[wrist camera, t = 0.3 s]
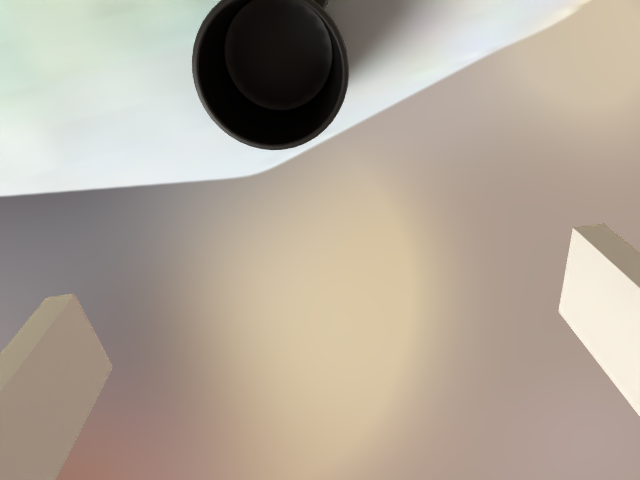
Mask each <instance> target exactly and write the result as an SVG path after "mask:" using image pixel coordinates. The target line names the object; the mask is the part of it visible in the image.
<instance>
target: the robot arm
mask: <svg viewBox="0 0 640 480" xmlns="http://www.w3.org/2000/svg"><path fill="white" fill-rule="evenodd" d="M559 313H560V314H561V315H562V317H563V318H564V319H565V320H566V322H567V323H568V324H569V326H570V327H571V328H572V330H573V331H574V332H575V334H576V335H577V336H578V337H579V339H580V340H581V341H582V342H583V344H584V345H585V346H586V348H587V349H588V350H589V352H590V353H591V354H592V355H593V356H594V358H595V359H596V361H597V362H598V363H599V364H600V366H601V367H602V368H603V370H604V371H605V372H606V373H607V375H608V376H609V377H610V379H611V380H612V381H613V383H614V384H615V385H616V386H617V388H618V389H619V390H620V392H621V393H622V394H623V396H624V397H625V398H626V399H627V401H628V402H629V403H630V405H631V406H632V407H633V408H634V410H635V411H636V412H637V413H638V415H639V416H640V252H639V251H638V250H636V249H635V248H634V247H632V246H631V245H630V244H629V243H628V242H626V241H625V240H624V239H622V238H621V237H620V236H619V235H618V234H616V233H615V232H614V231H612V230H611V229H610V228H609V227H608V226H606V225H605V224H597V225H589V226H581V227H574V228H573V231H572V237H571V242H570V248H569V254H568V260H567V266H566V272H565V278H564V283H563V289H562V295H561V301H560V307H559ZM112 368H113V366H112V364H111V362H110V360H109V359H108V357H107V355H106V353H105V351H104V349H103V347H102V346H101V343H100V342H99V340H98V338H97V336H96V334H95V332H94V330H93V328H92V326H91V324H90V322H89V321H88V319H87V317H86V315H85V313H84V311H83V309H82V307H81V306H80V304H79V302H78V300H77V298H76V296H75V294H68V295H61V296H53V297H47V298H46V299H45V300H44V301H43V302H42V304H41V305H40V306H39V307H38V309H37V310H36V311H35V312H34V313H33V315H32V316H31V317H30V318H29V319H28V321H27V322H26V323H25V324H24V326H23V327H22V328H21V329H20V330H19V332H18V333H17V334H16V335H15V336H14V338H13V339H12V340H11V341H10V342H9V344H8V345H7V346H6V347H5V348H4V350H3V351H2V352H1V353H0V480H56V478H57V476H58V474H59V472H60V470H61V468H62V466H63V464H64V462H65V460H66V458H67V456H68V455H69V453H70V451H71V449H72V446H73V445H74V443H75V441H76V439H77V437H78V435H79V433H80V431H81V429H82V427H83V425H84V423H85V421H86V419H87V417H88V415H89V413H90V411H91V409H92V407H93V405H94V403H95V401H96V399H97V397H98V395H99V393H100V391H101V389H102V387H103V385H104V383H105V381H106V380H107V377H108V375H109V374H110V372H111V370H112Z"/></svg>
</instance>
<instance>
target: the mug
mask: <svg viewBox="0 0 640 480" xmlns="http://www.w3.org/2000/svg"><path fill="white" fill-rule="evenodd" d="M327 2H328V0H221V1H220V2H219V3H218V4H217V5H216V6H215V7H214V8H213V9H212V10H211V11H210V12H209V14H208V15H207V16H206V18H205V19H204V21H203V22H202V24H201V27H200V29H199V31H198V33H197V36H196V40H195V43H194V47H193V55H192V73H193V78H194V83H195V87H196V90H197V93H198V96H199V99H200V101H201V103H202V105H203V107H204V108H205V110H206V111H207V113H208V114H209V116H210V117H211V119H212V120H213V121H214V122H215V123H216V124H217V125H218V126H219V127H220V128H221V129H222V130H223V131H224V132H226V133H227V134H228V135H229V136H231V137H233V138H234V139H236V140H238V141H240V142H242V143H244V144H246V145H249V146H252V147H256V148H260V149H267V150H282V149H288V148H293V147H297V146H299V145H302V144H304V143H306V142H308V141H310V140H312V139H314V138H315V137H317V136H318V135H319V134H320V133H322V132H323V131H324V130H325V129H326V128H327V127H328V126H329V125H330V124H331V122H332V121H333V120H334V118H335V117H336V115H337V114H338V112H339V110H340V108H341V106H342V104H343V101H344V98H345V95H346V91H347V86H348V79H349V65H348V57H347V51H346V48H345V45H344V41H343V39H342V36H341V34H340V32H339V30H338V28H337V26H336V25H335V23H334V22H333V20H332V19H331V17H330V16H329V15H328V14H327V12H326V11H325V10H324V8H325V7H326V5H327V4H328V3H327Z"/></svg>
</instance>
